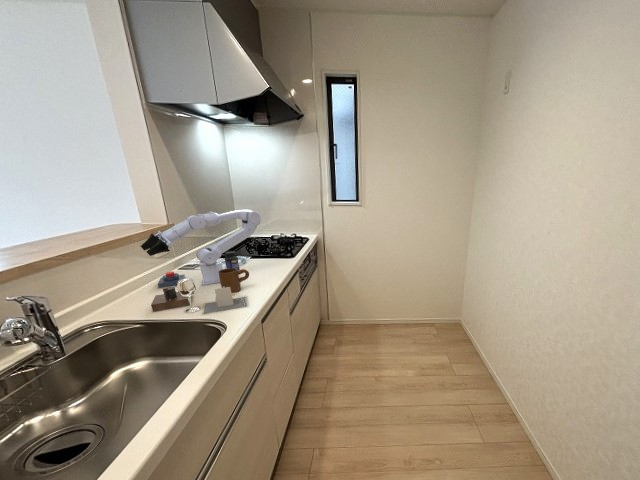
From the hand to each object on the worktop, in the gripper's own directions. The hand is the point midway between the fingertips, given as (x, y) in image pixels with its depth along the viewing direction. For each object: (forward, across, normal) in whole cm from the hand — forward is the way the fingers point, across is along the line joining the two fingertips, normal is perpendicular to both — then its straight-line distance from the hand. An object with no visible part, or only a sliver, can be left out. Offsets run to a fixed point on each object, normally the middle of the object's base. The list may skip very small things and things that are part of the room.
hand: (145, 251), depth 130 cm
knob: (+5, +20, +12) cm, 24 cm away
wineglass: (+3, +33, +14) cm, 36 cm away
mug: (-16, +26, +24) cm, 39 cm away
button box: (0, -8, +23) cm, 24 cm away
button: (-1, -9, +19) cm, 21 cm away
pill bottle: (-24, -1, +33) cm, 40 cm away
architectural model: (-7, +38, +18) cm, 43 cm away
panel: (+6, +20, +15) cm, 26 cm away
